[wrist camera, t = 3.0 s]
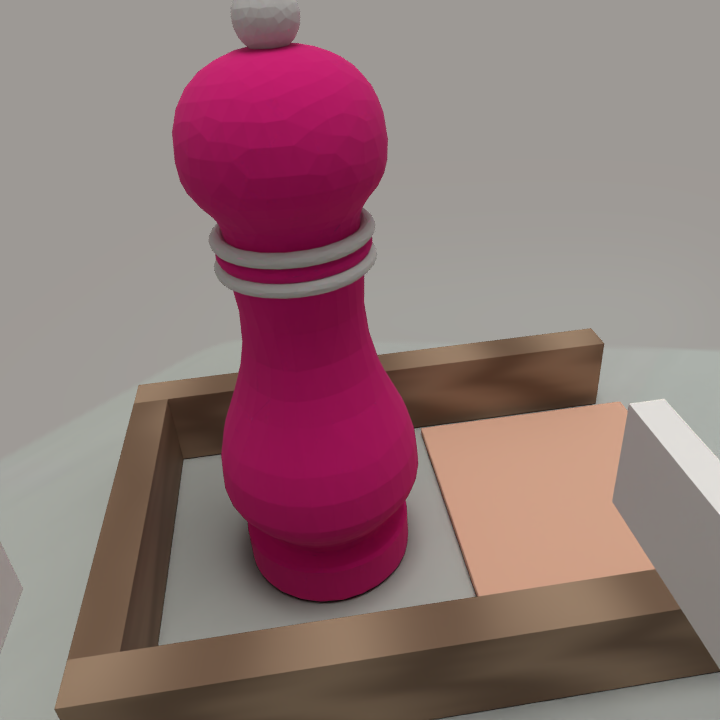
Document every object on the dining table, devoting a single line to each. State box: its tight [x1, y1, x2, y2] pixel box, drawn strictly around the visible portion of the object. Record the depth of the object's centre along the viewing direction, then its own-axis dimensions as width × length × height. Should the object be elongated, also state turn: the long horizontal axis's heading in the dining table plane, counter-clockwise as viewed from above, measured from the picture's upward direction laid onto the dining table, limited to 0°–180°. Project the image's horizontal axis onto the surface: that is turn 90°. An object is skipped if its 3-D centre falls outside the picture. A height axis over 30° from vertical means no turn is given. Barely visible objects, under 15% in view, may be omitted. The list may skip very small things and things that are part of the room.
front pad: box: [421, 402, 655, 597], centre depth 28 cm, size 10×12×1 cm
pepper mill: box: [172, 0, 418, 602], centre depth 22 cm, size 7×7×20 cm
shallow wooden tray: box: [55, 328, 720, 720], centre depth 27 cm, size 22×16×4 cm
